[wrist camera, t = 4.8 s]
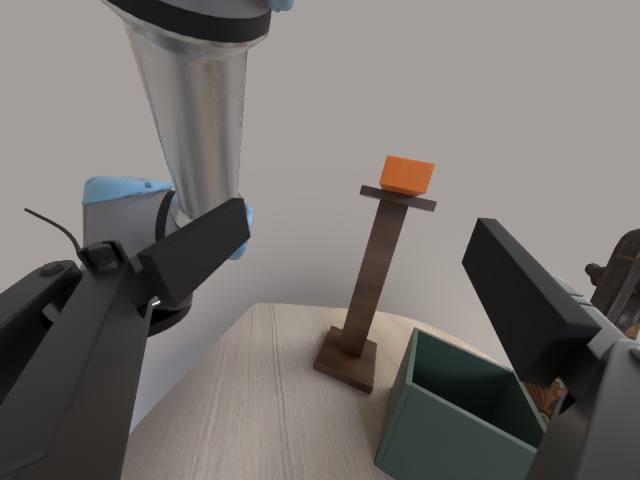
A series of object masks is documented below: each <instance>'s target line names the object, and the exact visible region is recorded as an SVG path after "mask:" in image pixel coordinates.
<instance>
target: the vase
mask: <svg viewBox="0 0 640 480" xmlns="http://www.w3.org/2000/svg"><path fill="white" fill-rule="evenodd" d="M585 272H586V273H587V274H588V275H589V276H590V278H591V283H592V284H593V285H595V286H596V287H597V288H596V290H595V292H594V294H593V296H592V298H591V300H590V303H592V304H593V307H596V308H597V309H598V310H599V311H600V312H601V313H602V314H603V315H604V316H605V317H606V318H607V319H608V320H609V321H610V322H611V323H613V324H614V325H615V326H616V327H617V328H618V329H619V330H620V331H621V332H622V333H623V334H624V335H625V336H626V337H627V338H628V339H631V340H635V341H636V338H637V335H638V332H639V329H640V229H636V230H632V231H629V232H628V233H626V234H625V235H624V236H623V237H622V238H621V239H620V241H619V243H618V244H617V245H616V247H615V249H614V251H613V253H612V255H611V258H610V260H609V262H608V264H607V266H606V267H600V266H599V265H597V264H594V263H592V264H588V265H587V266H586V268H585ZM523 384H524V385H525V387H526V389H527V391H528V393H529V395H530V397H531V398H532V400H533V402H534V404H535V406H536V408H537V410H538V411H539V413H540V415H541V417H542V419H543V421H544V423H545V424H546V426H547V427H548V424H549V422H550V420H551V418H552V415H553V413H554V411H553V412H552V411H551V410H550V409H548V408H549V407H550V406H551V405H552V404H553V403H554V402H555V401H556V400H557V399H558V398H559V397H560V396H561V395H562V394H563V393H564V392H565V391H566V390H567V388H566V386H565V385H564V383H563V382H562V380H561V378H560V377H558V378H557V379H556V380H555V381H554V382H553V383H552V384H551V385H550V386H549V387H544V386H539V385H534V384H529V383H525V382H523Z"/></svg>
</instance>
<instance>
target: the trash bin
mask: <svg viewBox="0 0 640 480" xmlns="http://www.w3.org/2000/svg"><path fill="white" fill-rule="evenodd" d="M546 429H547V426H546V424H545V423H544V421H543V419H542V417H541V415H540V413H539V411H538V410H537V408H536V406H535V404H534V402H533V400H532V398H531V397H530V395H529V393H528V391H527V389H526V387H525V385H524V384H523V382H520V381H519V379H518V377H517V375H516V372H515V371H513V370H511V369H509V368H507V367H505V366H502V365H500V364H498V363H495V362H493V361H491V360H489V359H486V358H484V357H482V356H479V355H477V354H475V353H473V352H470V351H468V350H466V349H463V348H461V347H459V346H457V345H454V344H452V343H450V342H447V341H445V340H443V339H441V338H438V337H436V336H434V335H431V334H429V333H427V332H425V331H422V330H420V329H418V328H415V327H414V329H413V332H412V335H411V338H410V340H409V343H408V346H407V348H406V351H405V354H404V357H403V359H402V362H401V365H400V368H399V370H398V373H397V376H396V379H395V381H394V384H393V387H392V391H391V395H390V399H389V403H388V408H387V412H386V416H385V420H384V424H383V429H382V433H381V437H380V441H379V445H378V450H377V454H376V458H375V462H374V464H375V465H376V466H378V467H379V468H380V469H382V470H383V471H385V472H386V473H387V474H389V475H390V476H392V477H393V478H394V479H396V480H524V479H525V477H526V475H527V472H528V470H529V468H530V466H531V463H532V461H533V459H534V456H535V454H536V452H537V450H538V447H539V445H540V443H541V440H542V438H543V436H544V434H545V431H546Z"/></svg>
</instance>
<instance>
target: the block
mask: <svg viewBox="0 0 640 480" xmlns="http://www.w3.org/2000/svg"><path fill="white" fill-rule="evenodd" d="M434 166H435V165H434V164H430V163H426V162H420V161H415V160H409V159H404V158H399V157H393V156H387V158H386V162H385V166H384V169H383V173H382V176H381V180H380V185H381V188H382V189H383V190H387V191H391V192H396V193H400V194H405V195H409V196H414V197H415V196H419V195H422V194H425V193H426V190H427V187H428V184H429V181H430V178H431V174H432V172H433V169H434Z"/></svg>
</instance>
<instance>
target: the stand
mask: <svg viewBox="0 0 640 480" xmlns="http://www.w3.org/2000/svg"><path fill="white" fill-rule="evenodd" d="M360 195H363V196H366V197H369V198H373V199H378V200H380V203H379V206H378V210H377V213H376V217H375V220H374V224H373V227H372V230H371V234H370V238H369V241H368V244H367V248H366V251H365V255H364V258H363V262H362V265H361V268H360V272H359V276H358V279H357V282H356V286H355V289H354V293H353V296H352V300H351V303H350V307H349V310H348V313H347V317H346V320H345V324H344V327H343V330H341V329H339V328H336V327H334V326H331V328H330V331H329V333H328V335H327V337H326V339H325V341H324V343H323V345H322V347H321V350H320V352H319V354H318V356H317V358H316V360H315V362H314V366H313V369H315V370H318V371H320V372H322V373H324V374H327V375H329V376H331V377H333V378H336V379H338V380H340V381H342V382H345V383H347V384H349V385H351V386H353V387H356V388H358V389H360V390H362V391H365V392H367V393H369V394H371V392H372V389H373V383H374V371H375V359H376V348H377V343H375V342H372V341H370V340H367V339H366V338H367V335H368V332H369V329H370V326H371V323H372V319H373V316H374V313H375V310H376V307H377V304H378V301H379V297H380V294H381V291H382V288H383V285H384V282H385V279H386V275H387V272H388V269H389V266H390V263H391V259H392V257H393V253H394V250H395V247H396V244H397V241H398V238H399V234H400V231H401V228H402V225H403V222H404V219H405V216H406V212H407V209H408V207H411V208H416V209H420V210H426V211H432V212H433V211H434V209H435V206H436V201H431V200H427V199H422V198H418V197H414V196H409V195H405V194H400V193H396V192H391V191H387V190H383V189H378V188H373V187H369V186H364V185H362V187H361V191H360Z"/></svg>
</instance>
